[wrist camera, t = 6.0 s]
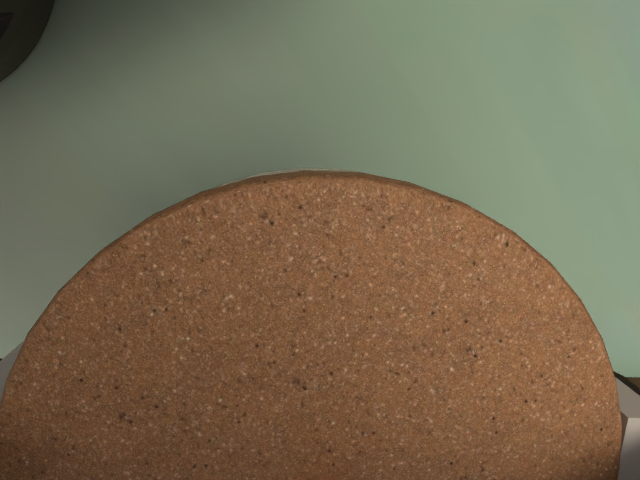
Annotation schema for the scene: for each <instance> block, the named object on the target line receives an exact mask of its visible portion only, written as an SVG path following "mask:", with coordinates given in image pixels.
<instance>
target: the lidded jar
mask: <svg viewBox="0 0 640 480" xmlns="http://www.w3.org/2000/svg"><path fill="white" fill-rule="evenodd" d="M621 437H622V420H621V413H620V406H619V399H618V391H617V384H616V378H615V375H614V372H613V369H612V366H611V363H610V360H609V357H608V354H607V351H606V348H605V345H604V342H603V339H602V337H601V335H600V333H599V331H598V330H597V328H596V326H595V324H594V322H593V321H592V319H591V317H590V315H589V313H588V312H587V310H586V308H585V306H584V304H583V303H582V301H581V299H580V298H579V297H578V295H577V294H576V293H575V292H574V290H573V289H572V288H571V287H570V286H569V284H568V283H567V282H566V281H565V280H564V278H563V277H562V276H561V275H560V273H559V272H558V271H557V270H556V269H555V267H554V266H553V265H552V264H551V263H550V262H549V261H548V260H547V259H546V258H544V257H543V256H542V255H541V254H540V253H538V252H537V251H536V250H535V249H534V248H533V247H531V246H530V245H529V244H528V243H527V242H525V241H524V240H523V239H522V238H521V237H520V236H518V235H517V234H516V233H515V232H513V231H512V230H510V229H508V228H507V227H505V226H503V225H502V224H500V223H498V222H496V221H495V220H493V219H491V218H490V217H488V216H486V215H484V214H483V213H481V212H479V211H478V210H476V209H474V208H472V207H471V206H469V205H467V204H465V203H463V202H461V201H458V200H455V199H453V198H450V197H447V196H445V195H442V194H439V193H437V192H434V191H431V190H429V189H426V188H423V187H421V186H418V185H415V184H413V183H410V182H406V181H401V180H396V179H391V178H385V177H380V176H375V175H370V174H365V173H360V172H354V171H349V170H344V169H323V168H296V169H287V170H279V171H271V172H263V173H259V174H255V175H252V176H248V177H245V178H241V179H238V180H234V181H231V182H227V183H224V184H221V185H219V186H217V187H215V188H213V189H209V190H206V191H202V192H200V193H198V194H196V195H194V196H191V197H189V198H187V199H185V200H183V201H181V202H179V203H177V204H174V205H172V206H170V207H168V208H166V209H164V210H162V211H160V212H157V213H155V214H153V215H152V216H150V217H149V218H147V219H146V220H144V221H143V222H141V223H140V224H138V225H137V226H135V227H134V228H133V229H131V230H130V231H128V232H127V233H125V234H124V235H122V236H121V237H119V238H118V239H117V240H115V241H114V242H112V243H111V244H109V245H108V246H106V247H105V248H104V249H102V250H101V251H100V252H98V253H97V254H96V255H95V256H94V257H93V258H92V259H91V260H90V261H89V262H88V263H87V264H86V265H85V266H84V267H83V268H82V269H81V270H80V271H79V272H78V273H77V274H75V275H74V276H73V277H72V278H71V279H70V280H69V281H68V282H67V283H66V284H65V285H64V286H63V287H62V288H61V289H60V290H59V291H58V292H57V294H56V295H55V296H54V298H53V299H52V301H51V302H50V303H49V305H48V306H47V308H46V309H45V310H44V312H43V313H42V315H41V316H40V317H39V319H38V320H37V322H36V323H35V324H34V326H33V327H32V329H31V330H30V331H29V333H28V334H27V337H26V339H25V341H24V343H23V345H22V347H21V349H20V351H19V354H18V356H17V358H16V360H15V362H14V364H13V366H12V368H11V370H10V373H9V375H8V377H7V380H6V383H5V387H4V391H3V395H2V399H1V403H0V480H617V479H618V474H619V469H620V454H621Z"/></svg>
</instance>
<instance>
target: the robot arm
mask: <svg viewBox="0 0 640 480" xmlns="http://www.w3.org/2000/svg"><path fill="white" fill-rule="evenodd" d="M53 2H54V0H0V81H1V80H2V79H4V78H5V77H6V76H8V75H9V74H10V73H11V72H12V71H14V70H15V69H16V68H17V67H18V66H19V65H20V64H21V63H22V62H23V61H24V59H25V58H26V57H27V56H28V55H29V53H30V52H31V51H32V49H33V48H34V46H35V45H36V43H37V41H38V40H39V38H40V36H41V34H42V32H43V30H44V28H45V26H46V24H47V21H48V18H49V15H50V12H51V9H52V5H53ZM23 343H24V342H22V343H21V344H20V345H19V346H18V347H16V348H15V349H14V350H13V351H12V352H11V353H9V354H8V355H7V356H6V357H5V358H3V359H0V403H1V399H2V395H3V391H4V387H5V383H6V380H7V377H8V375H9V373H10V370H11V368H12V366H13V364H14V362H15V360H16V358H17V356H18V354H19V351H20V349H21V347H22V345H23ZM613 372H614V371H613ZM614 375H615V378H616V384H617V391H618V399H619V406H620V413H621V420H622V437H621V454H620V469H619V474H618V479H617V480H640V389H639V387H637V386H636V385H635V384H633V383H632V382H631V381H629V380H628V379H626V378H625V377H624V376H622V375H620V374H618V373H616V372H614Z"/></svg>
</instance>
